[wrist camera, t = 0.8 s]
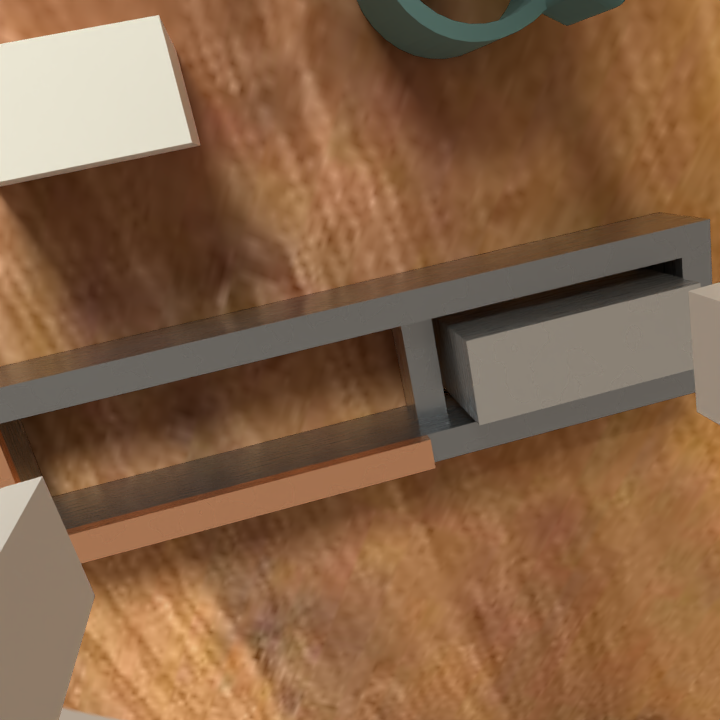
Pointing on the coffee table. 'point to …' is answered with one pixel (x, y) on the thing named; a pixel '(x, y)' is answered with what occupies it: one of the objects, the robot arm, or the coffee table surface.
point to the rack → (417, 368)
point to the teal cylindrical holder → (452, 38)
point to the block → (91, 100)
